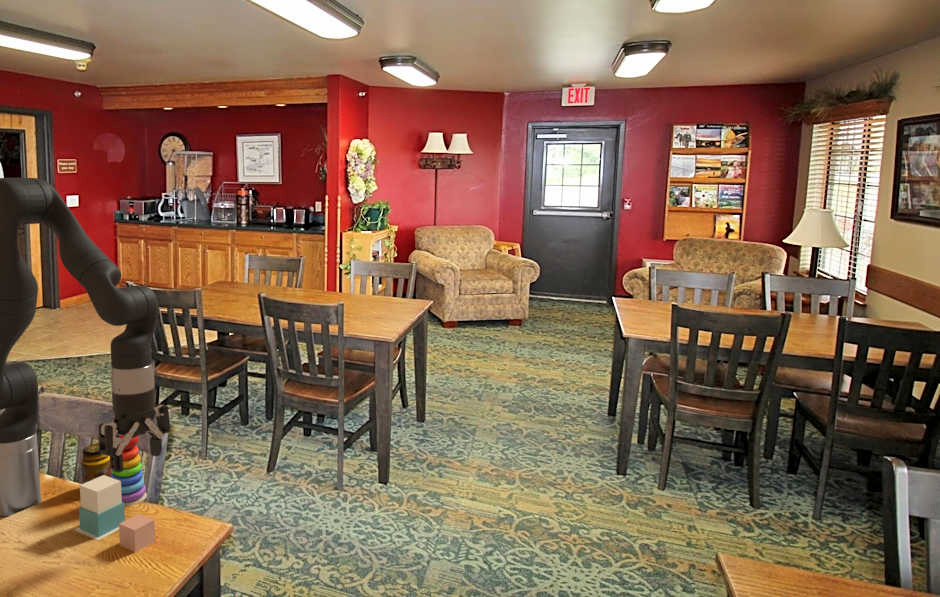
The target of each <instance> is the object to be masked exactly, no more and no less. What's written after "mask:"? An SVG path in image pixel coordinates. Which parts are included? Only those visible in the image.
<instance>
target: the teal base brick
mask: <svg viewBox="0 0 940 597" xmlns="http://www.w3.org/2000/svg"><path fill="white" fill-rule="evenodd" d="M78 515H79V516H78V517H79V519H78V520H79V527H80V529H81V530H84V531H86V532H88V533H91V534H93V535H95V536H97V537H100V536H102V535H104V534H106V533H108V532H110V531H112V530H114V529H116V528H118V527H119V524H120V523H122V522H123V521H125V520H126V516H125V515H126V514H125V507H124V502H122V503H120V504H118V505H116V506H114V507H112V508H110V509H108V510H106V511H103V512H101V513H99V514H97V513H94V512H92V511H90V510H87V509H85V508H82V507H81V506H78Z"/></svg>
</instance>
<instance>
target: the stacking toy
mask: <svg viewBox="0 0 940 597" xmlns="http://www.w3.org/2000/svg"><path fill="white" fill-rule="evenodd" d="M124 437H125V436H123V435H121V437H120V438H121V439H123V438H124ZM139 437H140V435H138V436H137V437H135V438H131V440H130V442H129V443H128V444H127V445H125V447H124V449H123V451H122V453H121V454H122V456H123V471H122V472H120V473H118V472H115V471H113V470H112V469H111V471H112V475H111V478H113V479H116V480H119V481H121V495H122V502H124V508H125V507H131V506H135V505H137V504H140V503H142V502H143V501H144V500H145V499H147V497H148V494H147V492H146V491H147V487H146V485H145V479H144V478H143V475H144V472H143V470H142V467H143V465H142V463H141V460H142V457H141V455H139V452H140V450H139V447H138V446H137V444H138V442H139ZM117 446H118V445H117Z"/></svg>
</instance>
